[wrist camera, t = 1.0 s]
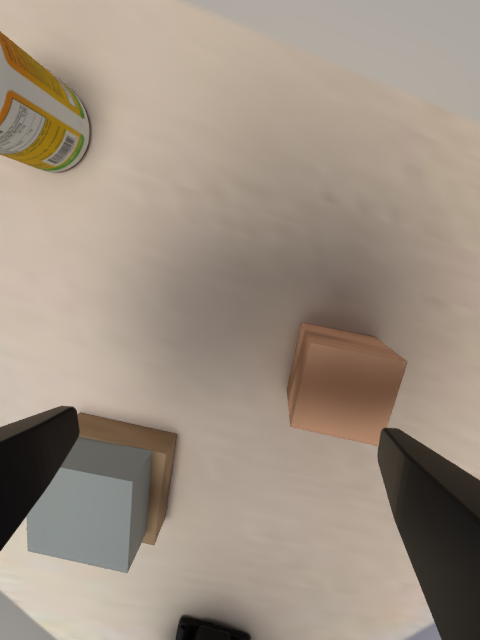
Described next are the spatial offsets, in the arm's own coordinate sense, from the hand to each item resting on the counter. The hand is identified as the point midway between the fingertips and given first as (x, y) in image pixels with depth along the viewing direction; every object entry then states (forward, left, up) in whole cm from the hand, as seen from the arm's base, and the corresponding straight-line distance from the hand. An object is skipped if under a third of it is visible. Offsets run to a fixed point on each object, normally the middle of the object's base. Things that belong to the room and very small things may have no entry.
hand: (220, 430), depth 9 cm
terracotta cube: (-1, -6, -13) cm, 14 cm away
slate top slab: (-13, +8, -10) cm, 19 cm away
